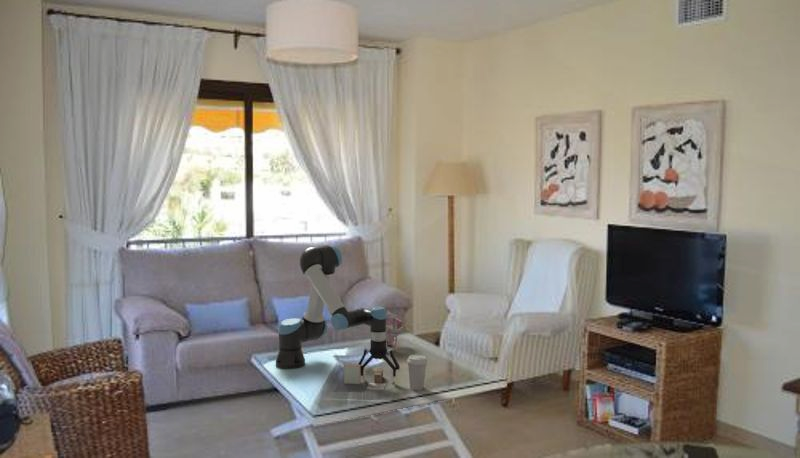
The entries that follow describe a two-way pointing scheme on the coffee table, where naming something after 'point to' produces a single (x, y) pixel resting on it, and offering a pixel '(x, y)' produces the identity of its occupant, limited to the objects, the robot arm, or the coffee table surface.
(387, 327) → the flower
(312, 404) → the coffee table surface
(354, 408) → the coffee table surface
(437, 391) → the coffee table surface
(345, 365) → the tile
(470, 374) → the coffee table surface
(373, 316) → the robot arm
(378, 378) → the tapered wooden block
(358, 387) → the mat
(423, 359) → the coffee cup
